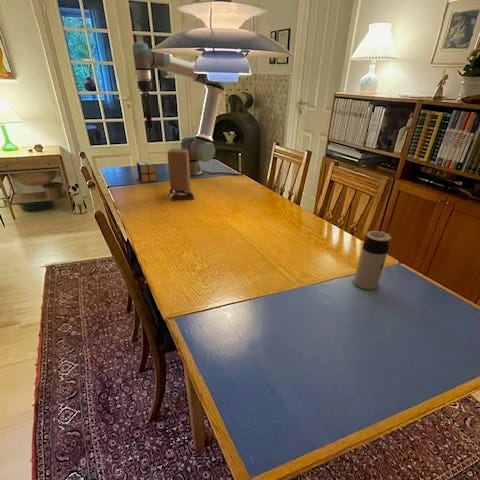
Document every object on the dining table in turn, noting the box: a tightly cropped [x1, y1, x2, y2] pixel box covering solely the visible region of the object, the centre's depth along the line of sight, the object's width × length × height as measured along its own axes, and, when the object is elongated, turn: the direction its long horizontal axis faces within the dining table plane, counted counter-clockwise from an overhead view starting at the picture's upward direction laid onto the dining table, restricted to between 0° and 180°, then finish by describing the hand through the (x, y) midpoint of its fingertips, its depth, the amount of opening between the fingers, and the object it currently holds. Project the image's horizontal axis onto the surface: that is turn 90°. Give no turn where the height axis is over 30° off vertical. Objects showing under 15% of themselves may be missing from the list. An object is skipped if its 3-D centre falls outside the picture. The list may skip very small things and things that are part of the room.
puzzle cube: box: [136, 160, 158, 183], centre depth 220 cm, size 10×10×10 cm
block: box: [167, 148, 192, 191], centre depth 188 cm, size 10×10×20 cm
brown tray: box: [169, 187, 194, 201], centre depth 195 cm, size 12×14×4 cm
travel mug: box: [353, 230, 392, 290], centre depth 114 cm, size 8×8×18 cm
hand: (149, 126), depth 193 cm, fingers open, 13 cm apart
